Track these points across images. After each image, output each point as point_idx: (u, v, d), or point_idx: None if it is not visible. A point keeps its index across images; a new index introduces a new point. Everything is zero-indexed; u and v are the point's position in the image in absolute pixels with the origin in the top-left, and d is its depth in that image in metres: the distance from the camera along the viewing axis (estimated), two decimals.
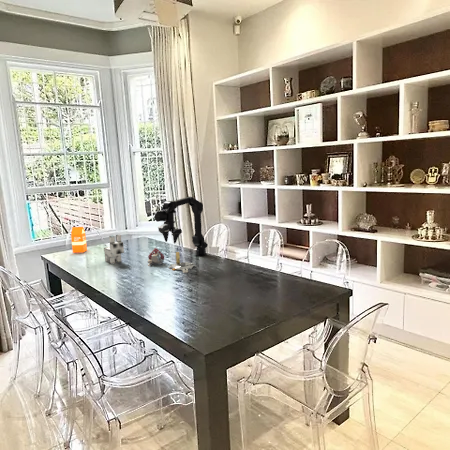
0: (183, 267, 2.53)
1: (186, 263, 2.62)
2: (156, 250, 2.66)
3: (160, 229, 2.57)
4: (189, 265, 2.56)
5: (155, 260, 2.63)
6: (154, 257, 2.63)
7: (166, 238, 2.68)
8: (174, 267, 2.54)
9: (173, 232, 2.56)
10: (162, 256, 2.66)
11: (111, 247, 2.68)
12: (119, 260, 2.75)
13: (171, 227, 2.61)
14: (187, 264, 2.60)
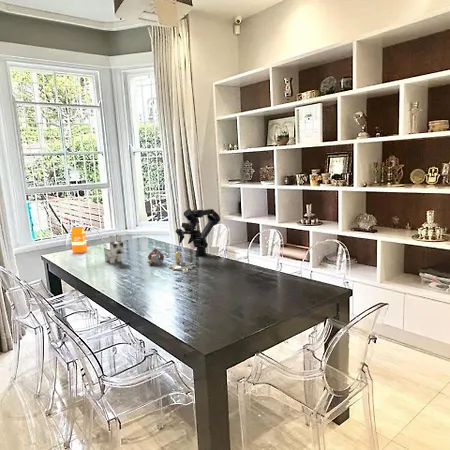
0: (183, 267, 2.53)
1: (186, 263, 2.62)
2: (156, 250, 2.66)
3: (184, 224, 2.65)
4: (189, 265, 2.56)
5: (155, 260, 2.63)
6: (154, 257, 2.62)
7: (181, 240, 2.70)
8: (174, 267, 2.54)
9: (195, 231, 2.65)
10: (162, 256, 2.66)
11: (111, 247, 2.68)
12: (119, 260, 2.75)
13: (192, 229, 2.70)
14: (187, 264, 2.60)
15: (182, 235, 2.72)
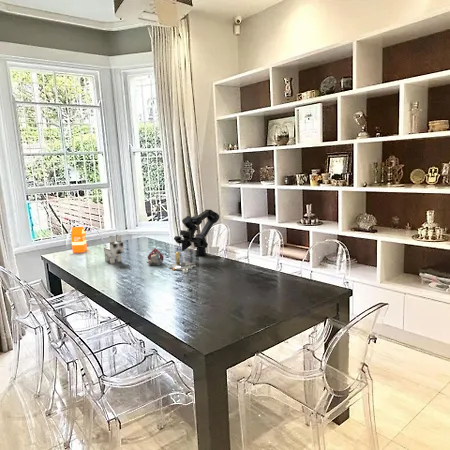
0: (183, 267, 2.53)
1: (186, 263, 2.62)
2: (155, 250, 2.65)
3: (183, 231, 2.64)
4: (189, 265, 2.56)
5: (154, 260, 2.62)
6: (153, 257, 2.62)
7: None
8: (174, 267, 2.54)
9: (194, 239, 2.64)
10: (161, 256, 2.65)
11: (111, 247, 2.68)
12: (119, 260, 2.75)
13: (191, 237, 2.69)
14: (187, 264, 2.60)
15: None
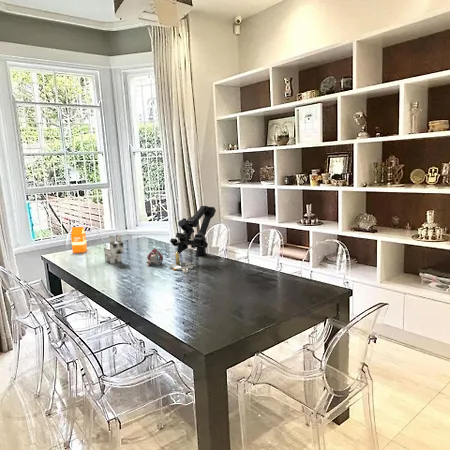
0: (183, 267, 2.53)
1: (186, 263, 2.62)
2: (155, 250, 2.65)
3: (179, 234, 2.60)
4: (189, 265, 2.57)
5: (153, 260, 2.62)
6: (152, 257, 2.62)
7: None
8: (174, 267, 2.53)
9: (190, 241, 2.60)
10: (161, 256, 2.65)
11: (111, 247, 2.68)
12: (119, 260, 2.75)
13: (187, 239, 2.65)
14: (187, 264, 2.60)
15: None
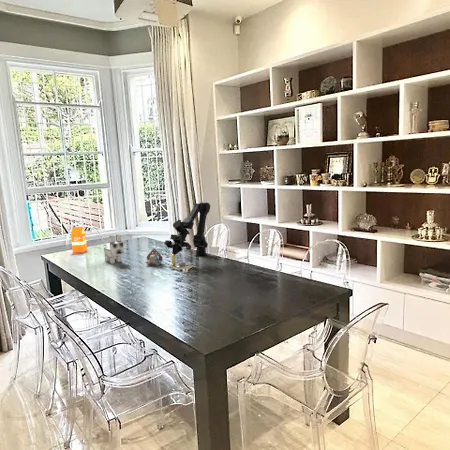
0: (189, 265, 2.57)
1: (177, 264, 2.61)
2: (154, 251, 2.65)
3: (173, 236, 2.55)
4: (187, 263, 2.61)
5: (153, 261, 2.61)
6: (152, 258, 2.61)
7: None
8: (184, 267, 2.52)
9: (185, 243, 2.55)
10: (160, 257, 2.64)
11: (111, 247, 2.68)
12: (119, 260, 2.75)
13: (181, 241, 2.60)
14: None
15: None
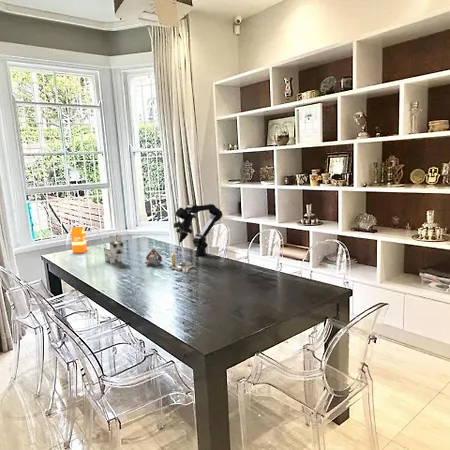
0: (189, 265, 2.57)
1: (177, 264, 2.61)
2: (154, 251, 2.64)
3: (174, 224, 2.70)
4: (187, 263, 2.61)
5: (152, 261, 2.61)
6: (151, 258, 2.61)
7: None
8: (184, 267, 2.52)
9: (183, 229, 2.65)
10: (159, 257, 2.64)
11: (111, 247, 2.68)
12: (119, 260, 2.75)
13: (185, 227, 2.71)
14: None
15: None
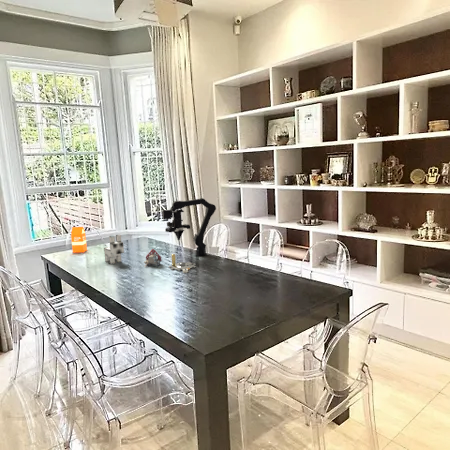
0: (189, 265, 2.57)
1: (177, 264, 2.61)
2: (153, 251, 2.64)
3: None
4: (187, 263, 2.61)
5: (151, 261, 2.61)
6: (150, 258, 2.61)
7: None
8: (184, 267, 2.52)
9: None
10: (159, 257, 2.64)
11: (111, 247, 2.68)
12: (119, 260, 2.75)
13: (174, 225, 2.77)
14: None
15: (178, 231, 2.80)
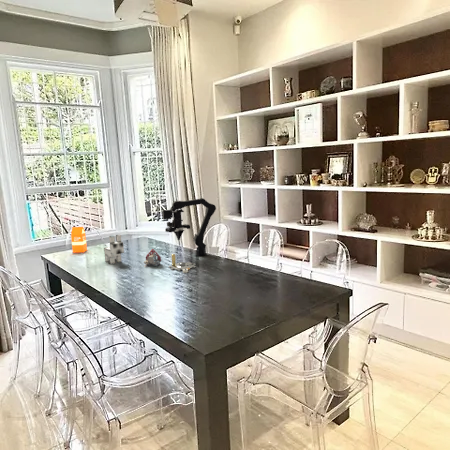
0: (189, 265, 2.57)
1: (177, 264, 2.61)
2: (153, 251, 2.64)
3: None
4: (187, 263, 2.61)
5: (151, 261, 2.61)
6: (150, 258, 2.60)
7: None
8: (184, 267, 2.52)
9: None
10: (159, 257, 2.63)
11: (111, 247, 2.68)
12: (119, 260, 2.75)
13: (174, 225, 2.77)
14: None
15: (178, 231, 2.80)
